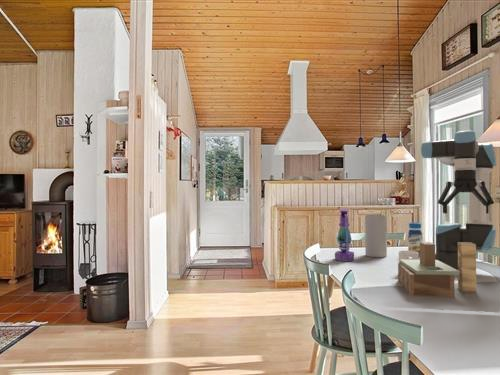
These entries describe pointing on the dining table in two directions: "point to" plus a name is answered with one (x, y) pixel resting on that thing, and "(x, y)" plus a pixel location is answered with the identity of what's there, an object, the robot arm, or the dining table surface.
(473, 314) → the dining table surface
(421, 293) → the open wooden box
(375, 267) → the dining table surface
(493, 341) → the dining table surface
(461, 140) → the robot arm
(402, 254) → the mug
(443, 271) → the lid
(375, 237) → the cylinder vase
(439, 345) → the dining table surface
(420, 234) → the beverage bottle
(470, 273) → the tall wooden block
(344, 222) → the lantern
